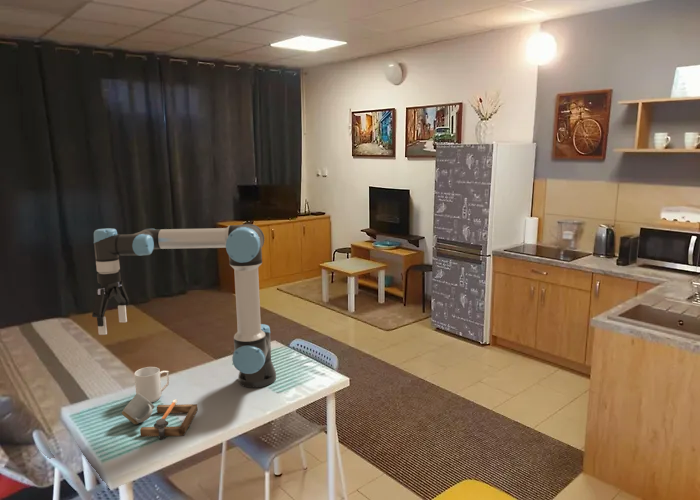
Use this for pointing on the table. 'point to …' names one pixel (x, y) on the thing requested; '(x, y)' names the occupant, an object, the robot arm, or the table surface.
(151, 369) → the mug
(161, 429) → the dark grey ring
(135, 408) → the ceramic mug
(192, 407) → the brown wooden flat frame
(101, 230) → the robot arm
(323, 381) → the table surface
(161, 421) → the orange long spoon
